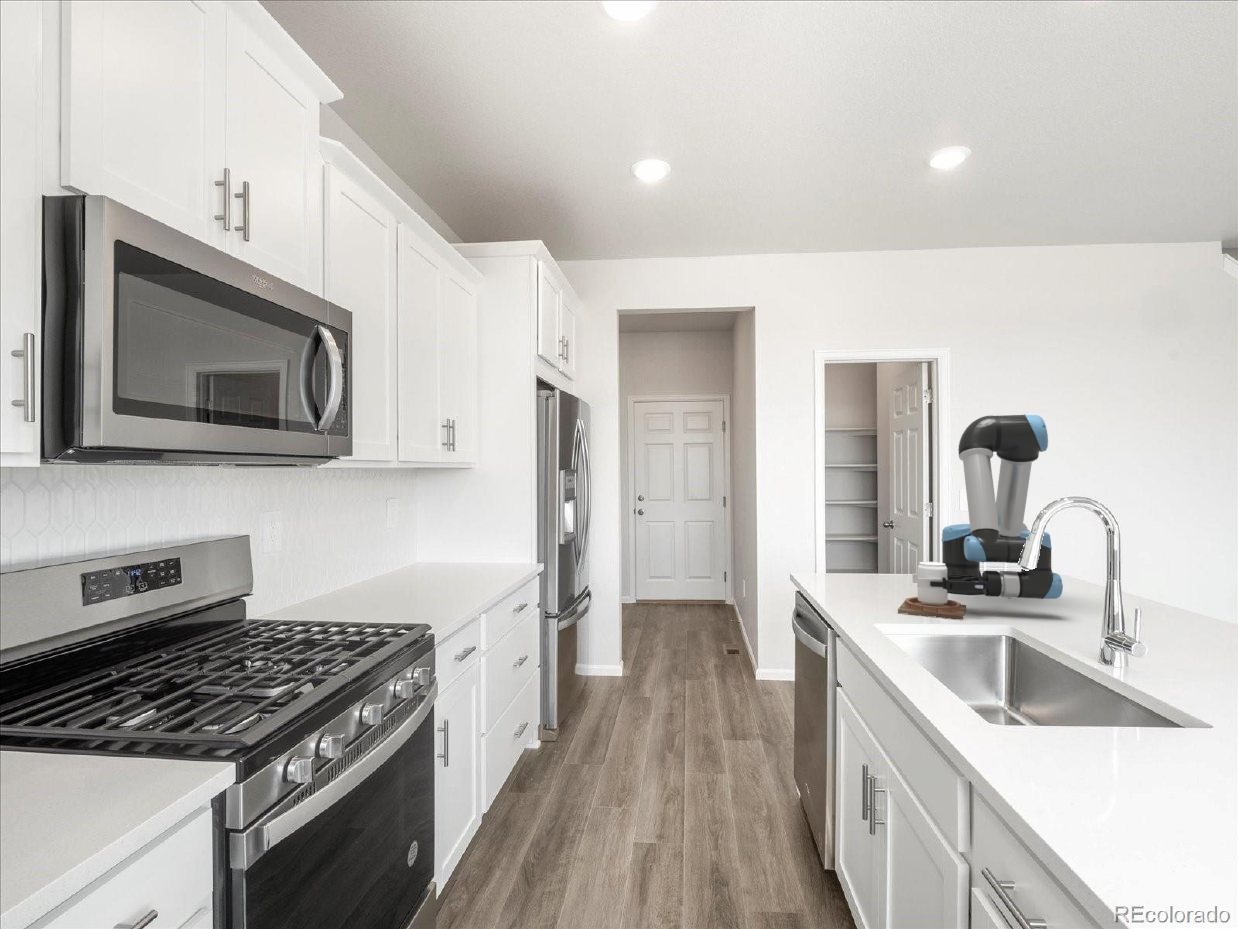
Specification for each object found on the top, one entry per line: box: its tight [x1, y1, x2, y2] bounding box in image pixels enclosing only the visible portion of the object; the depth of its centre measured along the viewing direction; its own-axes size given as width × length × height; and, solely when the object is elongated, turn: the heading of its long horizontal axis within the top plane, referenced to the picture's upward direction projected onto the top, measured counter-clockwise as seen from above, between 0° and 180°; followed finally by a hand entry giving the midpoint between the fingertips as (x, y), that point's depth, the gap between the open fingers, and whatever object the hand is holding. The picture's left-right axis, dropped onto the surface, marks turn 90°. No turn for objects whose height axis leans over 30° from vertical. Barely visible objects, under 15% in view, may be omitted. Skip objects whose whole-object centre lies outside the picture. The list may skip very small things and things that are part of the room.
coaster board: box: [897, 596, 967, 620], centre depth 194 cm, size 17×17×3 cm
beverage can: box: [917, 561, 949, 605], centre depth 193 cm, size 8×8×12 cm
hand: (915, 580), depth 195 cm, fingers closed on beverage can, 8 cm apart
